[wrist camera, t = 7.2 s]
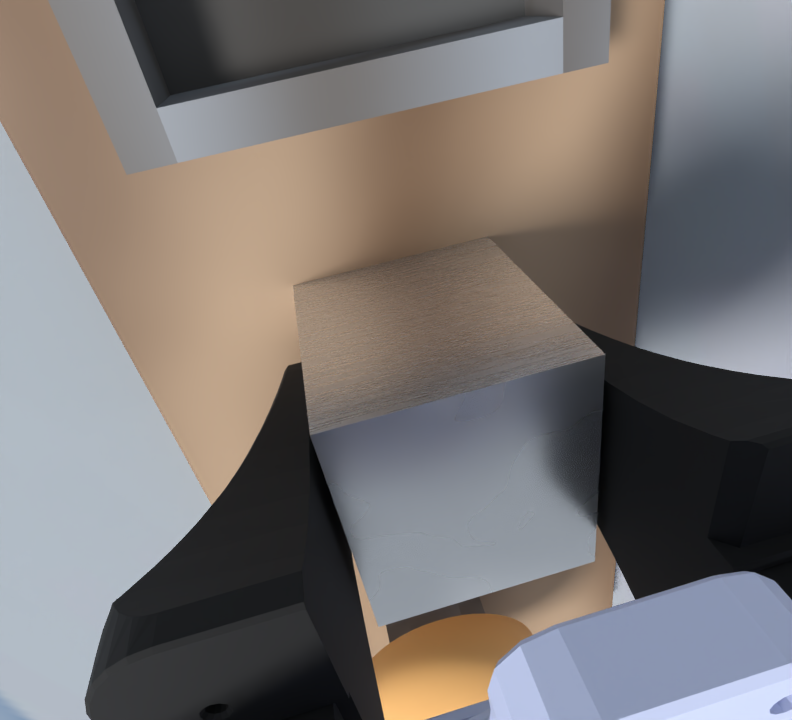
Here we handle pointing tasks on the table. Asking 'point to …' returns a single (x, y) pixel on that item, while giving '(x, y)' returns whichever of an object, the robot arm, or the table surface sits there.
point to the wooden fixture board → (331, 183)
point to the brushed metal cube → (452, 425)
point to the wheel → (443, 664)
